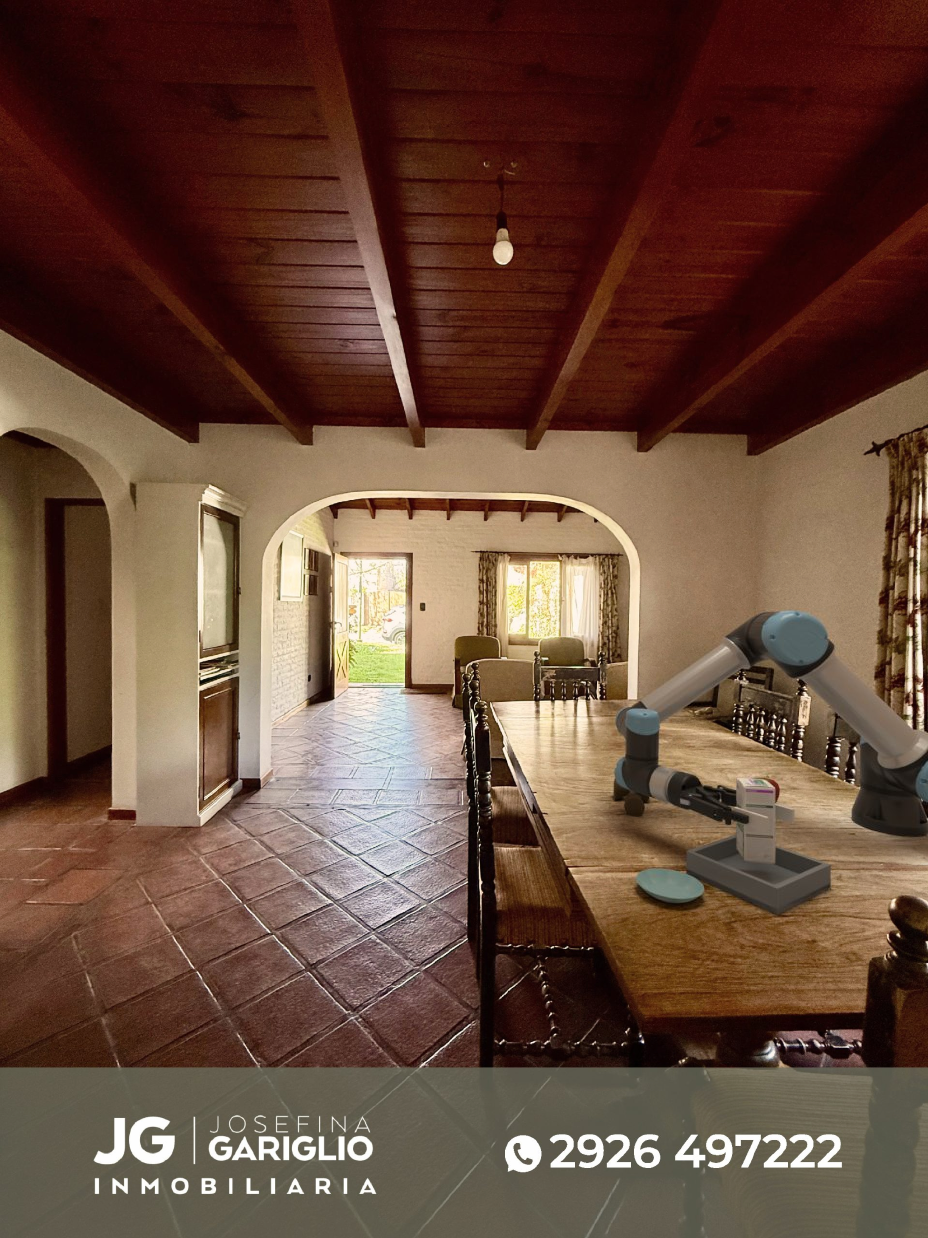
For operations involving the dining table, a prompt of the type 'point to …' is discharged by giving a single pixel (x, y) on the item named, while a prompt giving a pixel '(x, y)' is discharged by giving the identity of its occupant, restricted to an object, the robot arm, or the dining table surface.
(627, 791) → the kendama
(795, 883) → the tray
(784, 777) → the dining table surface
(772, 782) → the apple
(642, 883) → the saucer
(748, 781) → the syrup box
